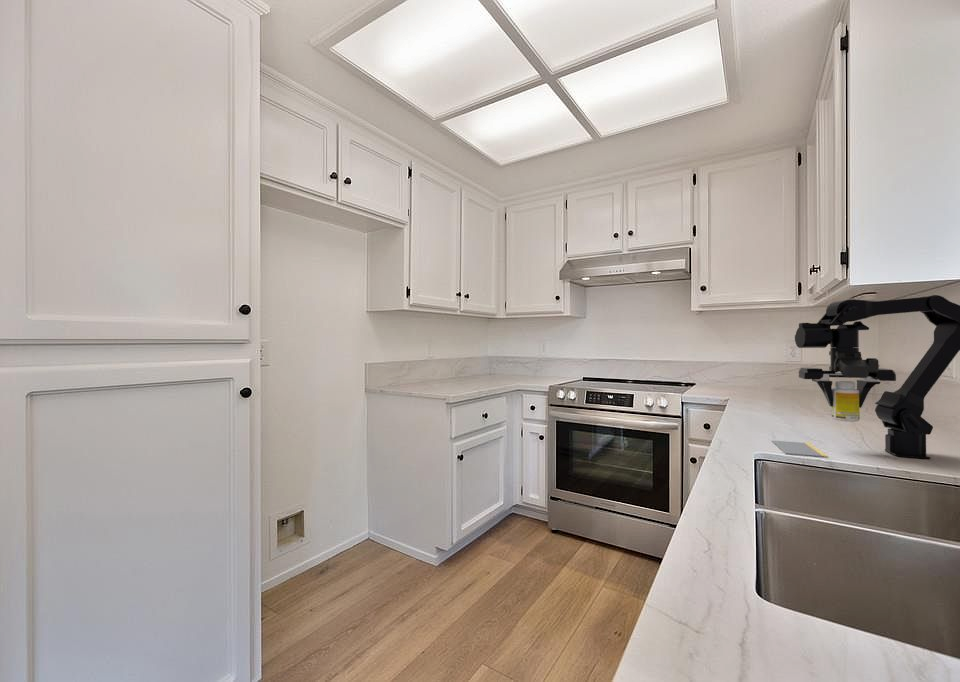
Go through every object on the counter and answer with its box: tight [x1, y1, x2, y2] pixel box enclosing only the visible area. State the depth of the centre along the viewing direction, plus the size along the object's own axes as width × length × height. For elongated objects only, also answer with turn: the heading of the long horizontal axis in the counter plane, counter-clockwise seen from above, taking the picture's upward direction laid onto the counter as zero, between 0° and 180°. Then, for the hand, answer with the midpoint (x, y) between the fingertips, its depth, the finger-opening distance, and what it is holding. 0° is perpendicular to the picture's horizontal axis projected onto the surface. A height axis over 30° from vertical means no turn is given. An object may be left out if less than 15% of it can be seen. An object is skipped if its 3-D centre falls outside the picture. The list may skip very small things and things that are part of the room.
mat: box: [771, 440, 829, 458], centre depth 114 cm, size 9×15×1 cm, turn 157°
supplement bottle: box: [831, 380, 861, 423], centre depth 111 cm, size 6×6×10 cm
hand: (845, 406), depth 111 cm, fingers closed on supplement bottle, 6 cm apart
